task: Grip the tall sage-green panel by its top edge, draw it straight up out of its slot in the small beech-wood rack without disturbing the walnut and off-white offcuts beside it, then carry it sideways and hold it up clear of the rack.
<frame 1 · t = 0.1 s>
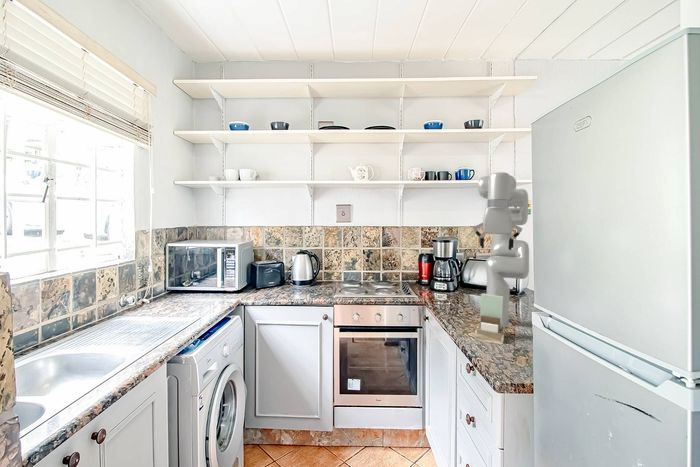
hand: (496, 248, 120), 36 cm above the countertop, tool pointing down, fingers open, 9 cm apart
walnut offcut: (489, 336, 122), point 1 cm above the countertop, touching rack
rack: (489, 339, 122), on the countertop
white offcut: (488, 339, 119), point 1 cm above the countertop, touching rack
green panel: (490, 334, 125), point 1 cm above the countertop, touching rack
shard: (470, 325, 142), on the countertop
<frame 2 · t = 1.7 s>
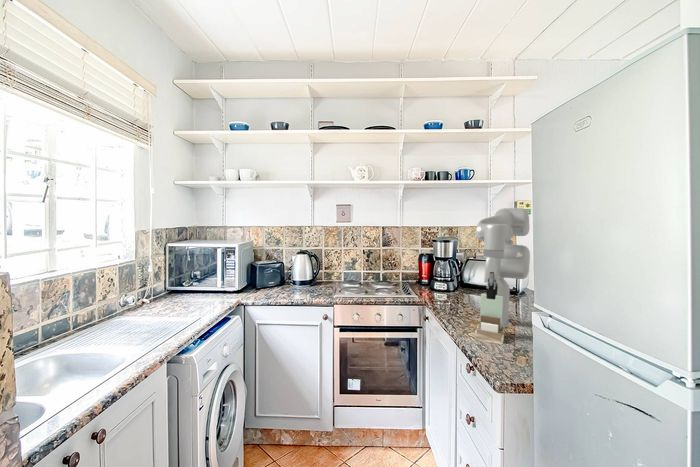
hand: (491, 296, 124), 17 cm above the countertop, tool pointing down, fingers open, 9 cm apart
nothing on the countertop moved.
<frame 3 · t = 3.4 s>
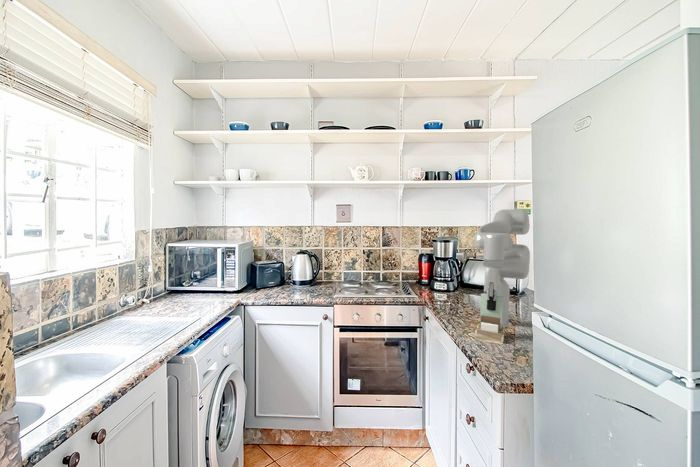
hand: (491, 309, 124), 12 cm above the countertop, tool pointing down, fingers closed on green panel, 2 cm apart
green panel: (490, 334, 125), point 1 cm above the countertop, touching gripper
everything else where it was.
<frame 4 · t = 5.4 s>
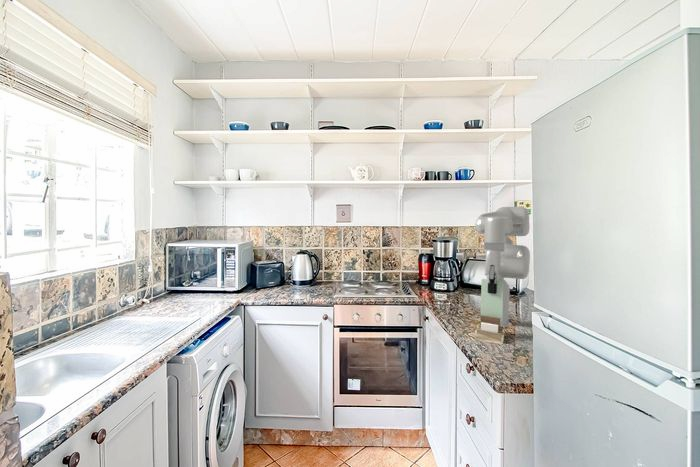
hand: (492, 292, 124), 18 cm above the countertop, tool pointing down, fingers closed on green panel
green panel: (491, 319, 125), point 7 cm above the countertop, touching gripper
everything else where it was.
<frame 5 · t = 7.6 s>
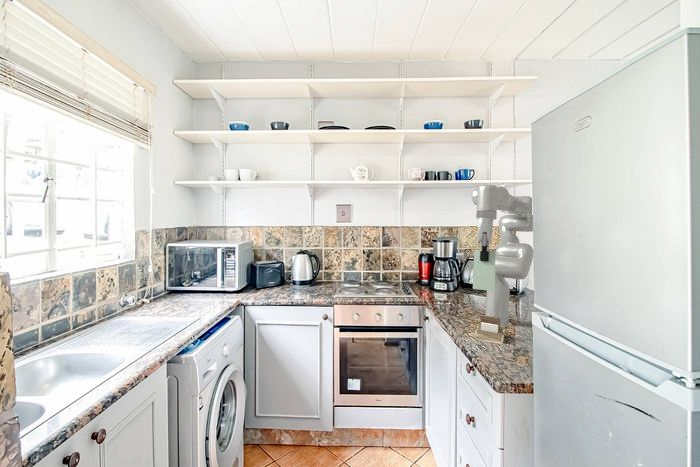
hand: (484, 260, 125), 31 cm above the countertop, tool pointing down, fingers closed on green panel
green panel: (483, 289, 126), point 19 cm above the countertop, touching gripper
everything else where it was.
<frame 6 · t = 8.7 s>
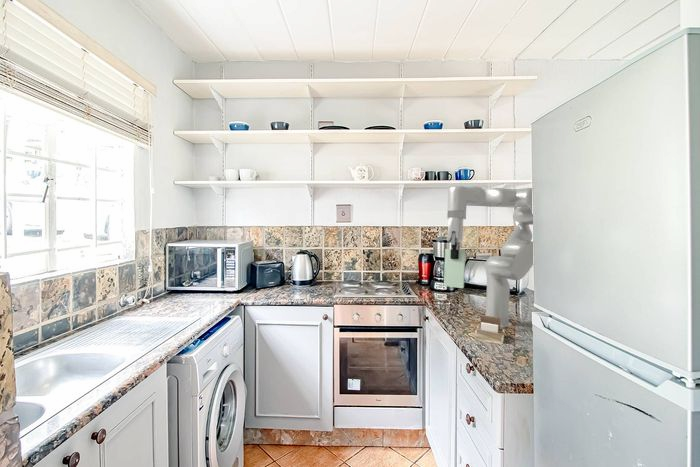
hand: (455, 258, 131), 31 cm above the countertop, tool pointing down, fingers closed on green panel
green panel: (453, 286, 131), point 19 cm above the countertop, touching gripper
everything else where it was.
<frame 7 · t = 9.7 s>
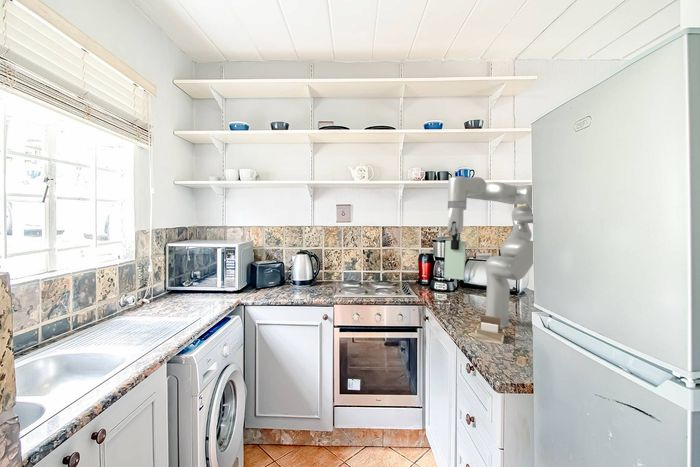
hand: (455, 249, 131), 35 cm above the countertop, tool pointing down, fingers closed on green panel
green panel: (454, 278, 131), point 22 cm above the countertop, touching gripper
everything else where it was.
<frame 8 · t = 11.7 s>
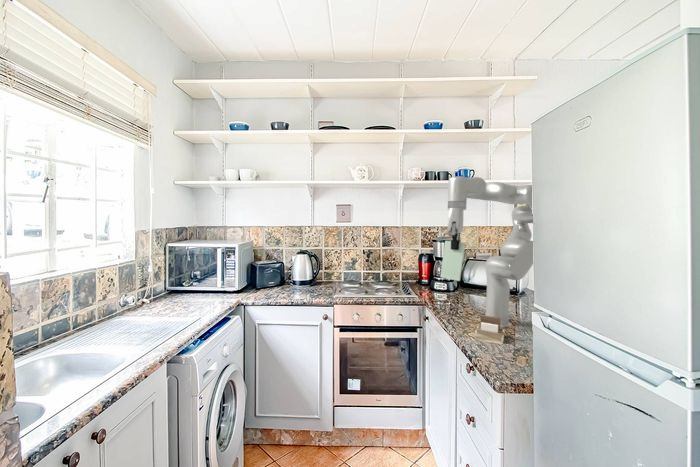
hand: (455, 249, 131), 35 cm above the countertop, tool pointing down, fingers closed on green panel
green panel: (450, 278, 132), point 22 cm above the countertop, tilted 5°, touching gripper
everything else where it was.
at the end: the gripper is holding green panel; green panel inside the target area (1.3 cm from its centre), point 22.1 cm above the countertop; walnut offcut moved 0.1 cm from its start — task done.
